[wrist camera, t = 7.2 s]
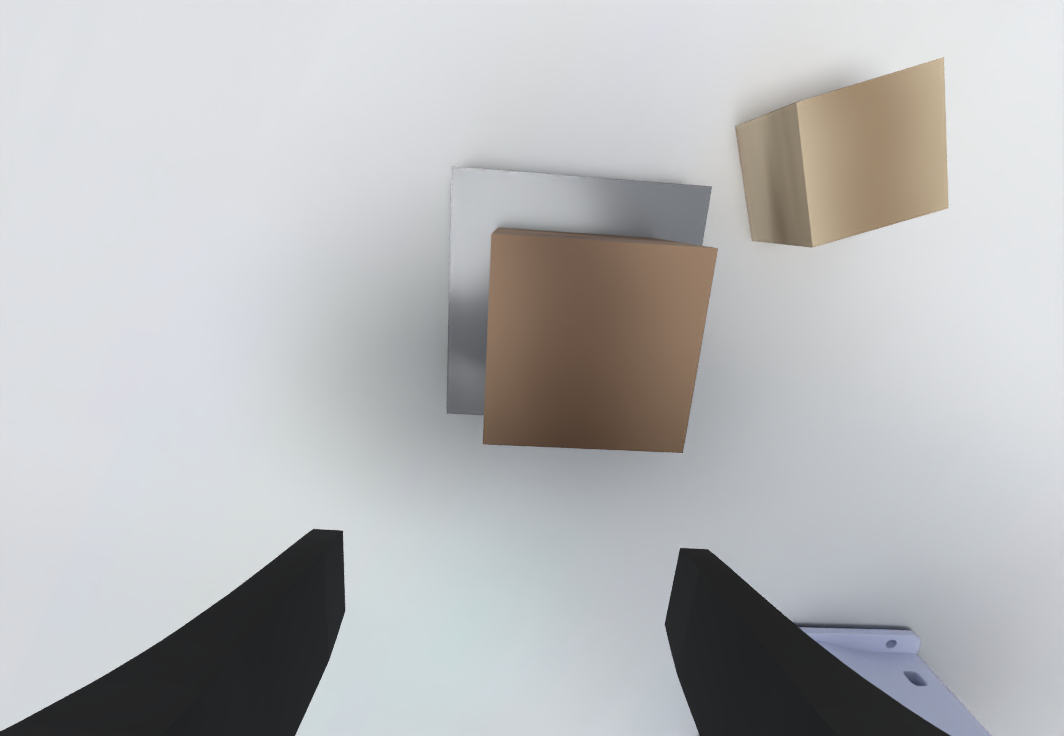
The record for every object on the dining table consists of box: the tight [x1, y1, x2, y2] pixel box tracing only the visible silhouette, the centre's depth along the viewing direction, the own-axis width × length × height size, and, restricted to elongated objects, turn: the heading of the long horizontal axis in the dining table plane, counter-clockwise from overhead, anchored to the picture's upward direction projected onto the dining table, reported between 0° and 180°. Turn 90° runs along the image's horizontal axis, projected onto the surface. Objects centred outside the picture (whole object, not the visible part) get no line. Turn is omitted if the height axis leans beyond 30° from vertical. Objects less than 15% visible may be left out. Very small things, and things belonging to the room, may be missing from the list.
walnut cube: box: [483, 228, 718, 453], centre depth 14 cm, size 5×5×5 cm
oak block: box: [735, 57, 948, 247], centre depth 16 cm, size 4×4×4 cm
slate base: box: [447, 166, 712, 415], centre depth 17 cm, size 8×8×2 cm
